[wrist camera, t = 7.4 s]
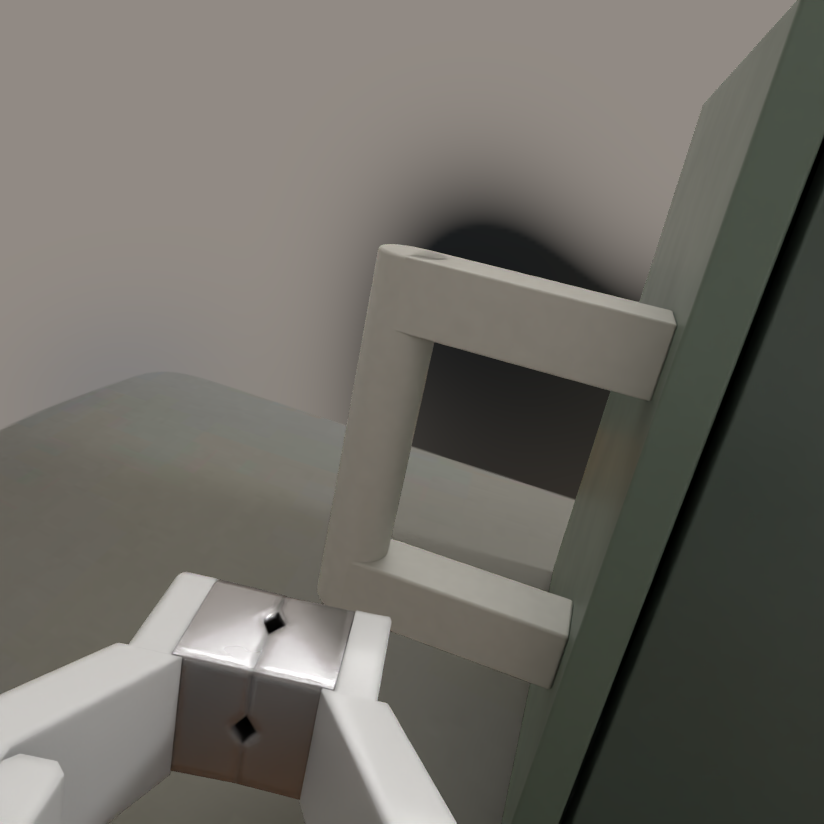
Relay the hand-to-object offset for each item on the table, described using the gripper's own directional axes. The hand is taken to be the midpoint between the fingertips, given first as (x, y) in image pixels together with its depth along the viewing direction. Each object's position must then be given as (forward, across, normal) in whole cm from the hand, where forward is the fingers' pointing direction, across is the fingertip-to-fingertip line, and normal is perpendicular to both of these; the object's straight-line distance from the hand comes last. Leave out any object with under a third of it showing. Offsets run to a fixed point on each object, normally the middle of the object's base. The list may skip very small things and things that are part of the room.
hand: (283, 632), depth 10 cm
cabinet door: (+13, +4, -10) cm, 17 cm away
